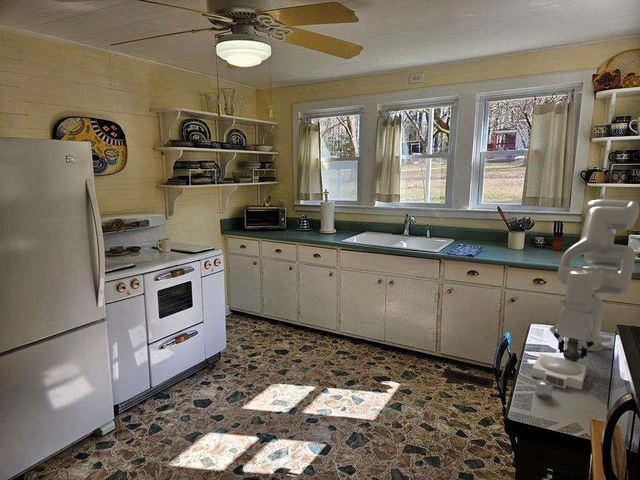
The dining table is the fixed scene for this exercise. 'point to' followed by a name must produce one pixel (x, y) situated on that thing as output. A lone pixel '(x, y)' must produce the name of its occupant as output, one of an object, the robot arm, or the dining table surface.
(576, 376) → the scale
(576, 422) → the dining table surface
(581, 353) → the robot arm
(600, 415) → the dining table surface
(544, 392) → the steel spacer
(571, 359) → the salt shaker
